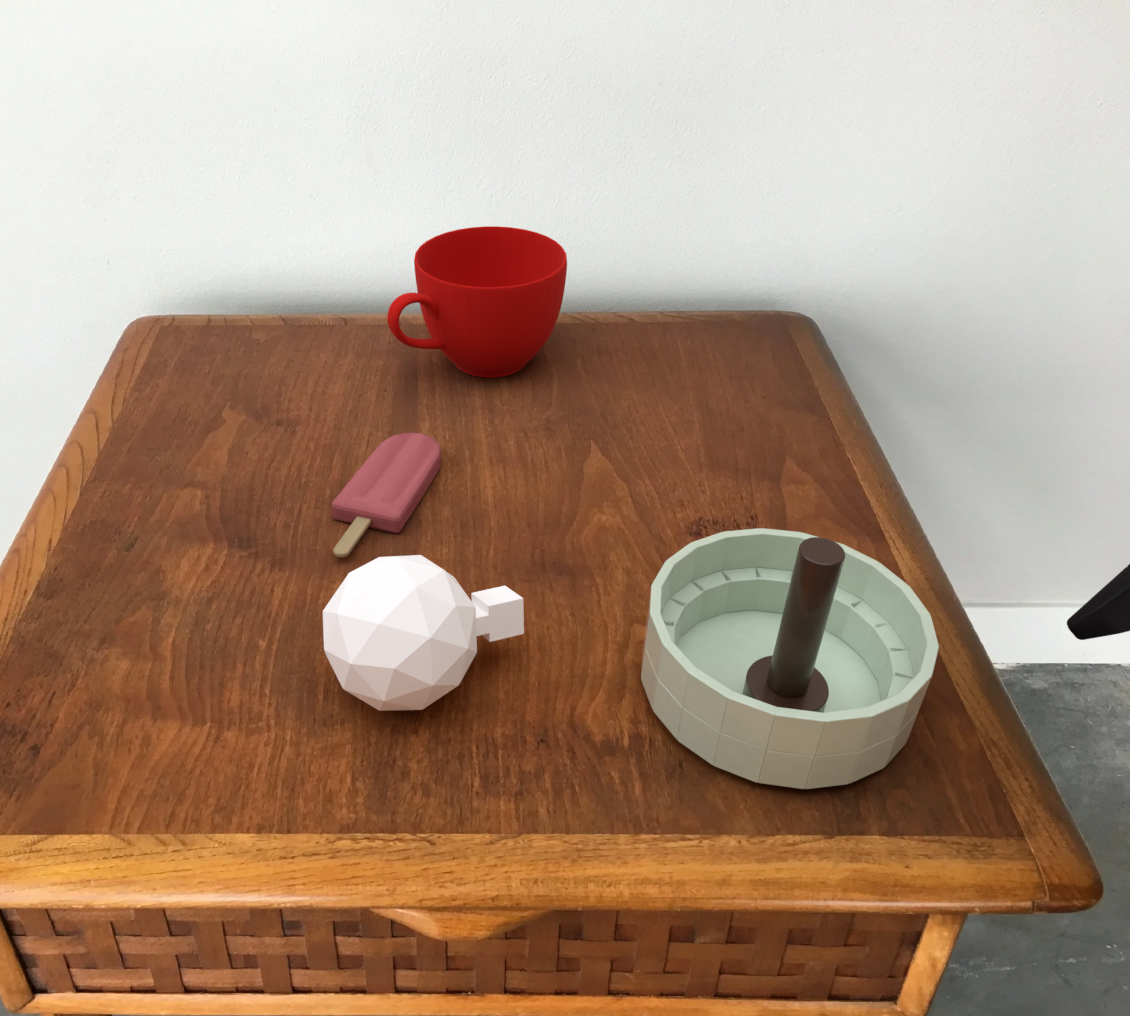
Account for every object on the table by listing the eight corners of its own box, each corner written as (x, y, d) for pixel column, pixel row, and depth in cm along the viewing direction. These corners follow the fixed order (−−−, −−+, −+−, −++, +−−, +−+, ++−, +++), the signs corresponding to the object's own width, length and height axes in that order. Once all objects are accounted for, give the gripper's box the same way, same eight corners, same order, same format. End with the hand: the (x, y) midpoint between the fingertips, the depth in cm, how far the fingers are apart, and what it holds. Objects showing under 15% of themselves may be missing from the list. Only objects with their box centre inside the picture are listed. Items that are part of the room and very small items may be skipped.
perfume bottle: (356, 759, 54) (552, 704, 58) (344, 599, 51) (550, 556, 56) (306, 690, 61) (483, 647, 66) (293, 548, 58) (479, 513, 63)
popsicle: (302, 538, 69) (389, 425, 80) (304, 555, 70) (390, 442, 81) (373, 555, 68) (452, 438, 79) (374, 572, 69) (453, 454, 80)
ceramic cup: (354, 367, 91) (345, 262, 85) (501, 314, 99) (502, 214, 93) (438, 429, 83) (434, 317, 77) (592, 365, 90) (599, 259, 84)
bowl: (888, 615, 64) (912, 542, 61) (930, 815, 52) (964, 739, 49) (645, 588, 67) (654, 516, 63) (634, 773, 55) (644, 698, 51)
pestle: (789, 676, 60) (831, 515, 52) (836, 730, 56) (888, 566, 49) (724, 696, 58) (758, 534, 51) (768, 753, 55) (812, 589, 48)
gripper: (1345, 238, 38) (951, 455, 46) (1747, 553, 23) (1066, 785, 32) (1462, 433, 41) (1076, 602, 50) (1876, 812, 27) (1231, 959, 35)
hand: (1103, 708), depth 42 cm, fingers open, 9 cm apart
